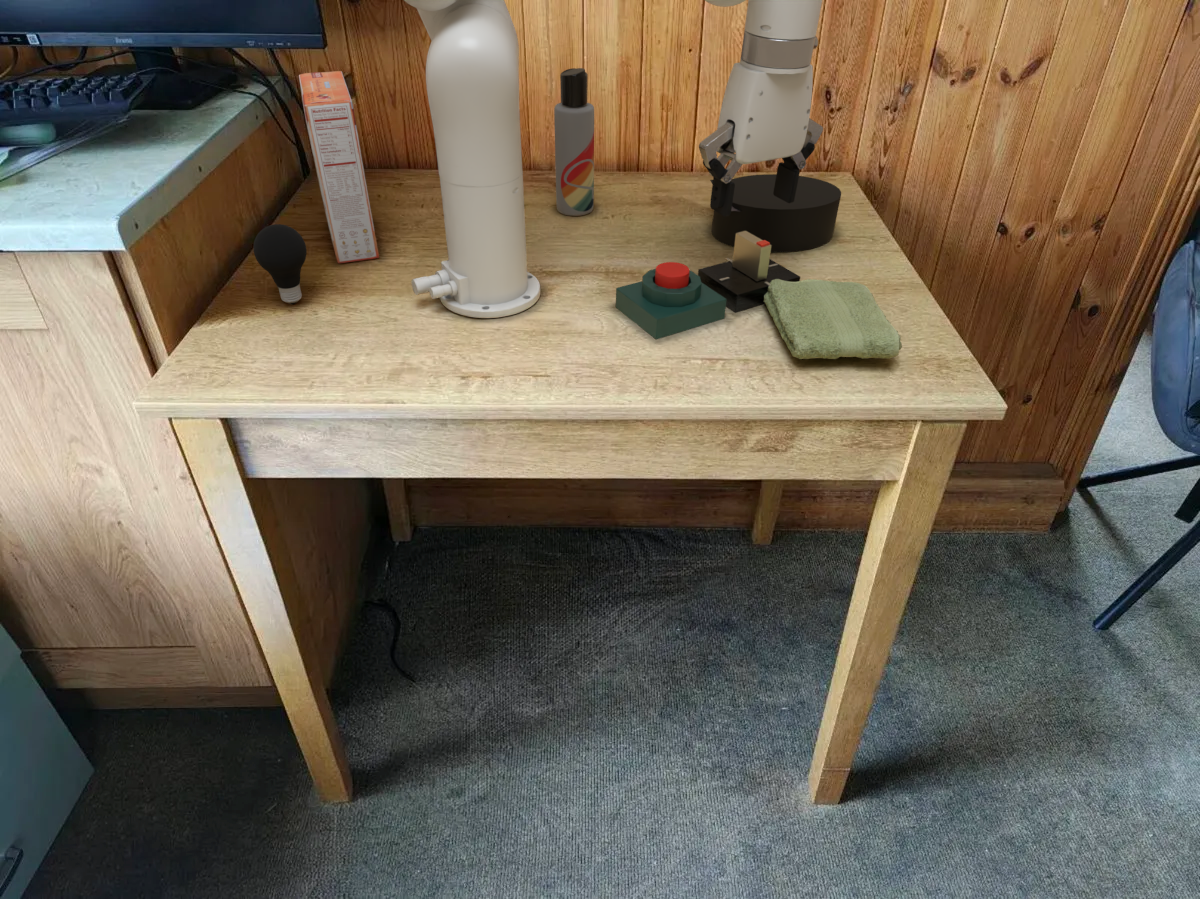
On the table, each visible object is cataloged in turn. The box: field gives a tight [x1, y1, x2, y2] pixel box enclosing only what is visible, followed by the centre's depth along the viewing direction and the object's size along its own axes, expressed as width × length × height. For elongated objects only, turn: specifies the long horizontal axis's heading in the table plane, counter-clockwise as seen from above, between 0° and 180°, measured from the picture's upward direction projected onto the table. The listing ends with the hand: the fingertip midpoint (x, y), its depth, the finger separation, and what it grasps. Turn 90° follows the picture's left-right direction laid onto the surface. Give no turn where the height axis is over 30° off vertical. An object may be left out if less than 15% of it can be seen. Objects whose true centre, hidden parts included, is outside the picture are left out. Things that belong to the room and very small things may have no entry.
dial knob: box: [732, 231, 772, 281], centre depth 104 cm, size 5×2×5 cm, turn 31°
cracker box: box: [298, 70, 380, 264], centre depth 111 cm, size 14×6×21 cm, turn 18°
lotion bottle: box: [553, 67, 595, 217], centre depth 122 cm, size 6×6×20 cm
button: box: [655, 261, 690, 289], centre depth 99 cm, size 4×4×2 cm
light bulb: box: [253, 223, 308, 305], centre depth 100 cm, size 6×6×10 cm
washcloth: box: [764, 278, 903, 360], centre depth 98 cm, size 13×18×3 cm
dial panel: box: [697, 257, 801, 314], centre depth 107 cm, size 10×9×3 cm
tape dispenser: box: [709, 173, 842, 253], centre depth 120 cm, size 14×18×8 cm
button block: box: [615, 268, 727, 340], centre depth 101 cm, size 10×9×4 cm
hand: (752, 205), depth 100 cm, fingers open, 9 cm apart
